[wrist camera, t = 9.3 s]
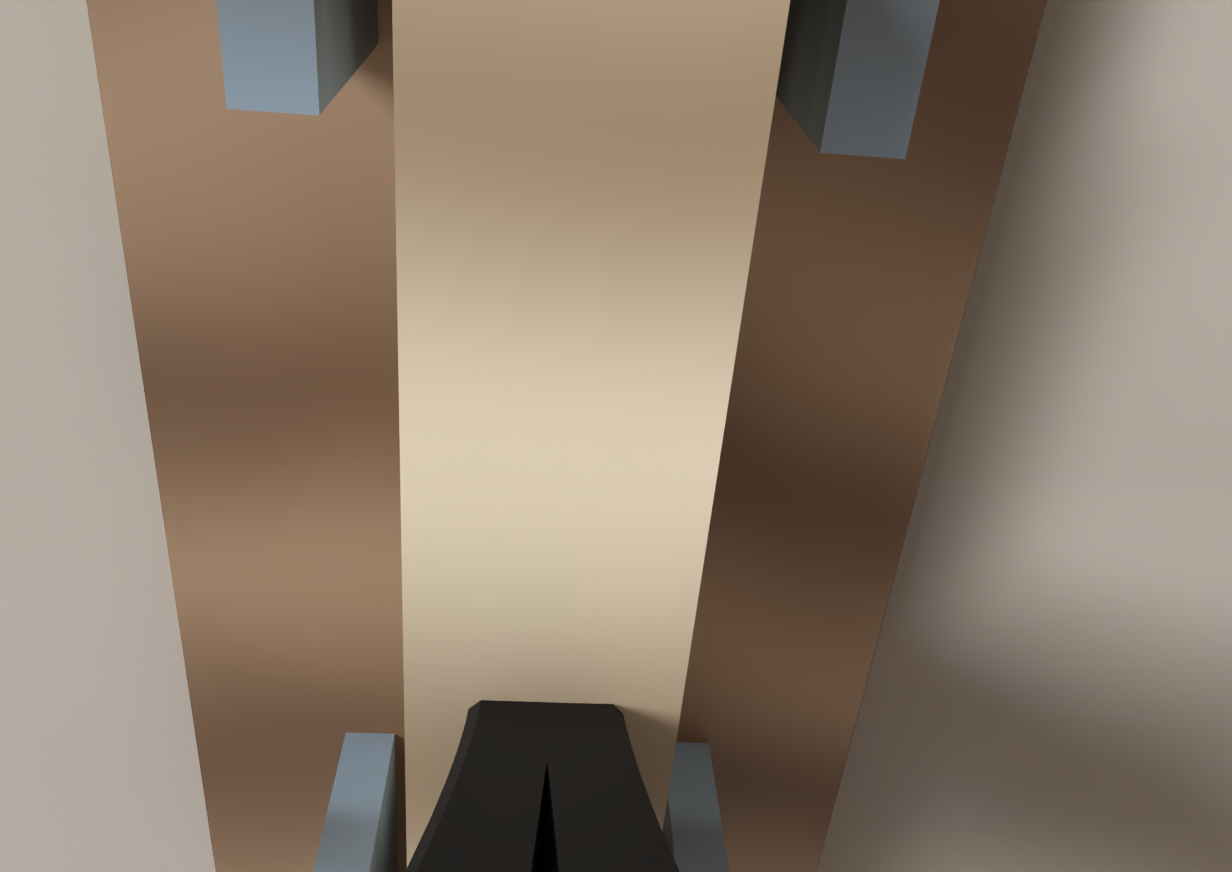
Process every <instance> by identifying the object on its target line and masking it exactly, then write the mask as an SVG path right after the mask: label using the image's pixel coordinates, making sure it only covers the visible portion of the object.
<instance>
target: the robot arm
mask: <svg viewBox="0 0 1232 872" xmlns="http://www.w3.org/2000/svg"><path fill="white" fill-rule="evenodd" d="M405 872H680V871H679V869H678V867H677V864H676V862H675V860H674V858H673V856H672V853H671V851H670V849H669V846H668V844H667V842H666V839H665V837H664V834H663V832H662V830H661V827H660V825H659V822H658V820H657V817H656V814H655V812H654V809H653V807H652V804H651V801H650V799H649V796H648V793H647V791H646V788H645V785H644V783H643V780H642V777H641V774H640V771H639V768H638V765H637V762H636V759H635V756H634V753H633V750H632V746H631V742H630V739H629V735H628V732H627V728H626V724H625V720H624V715H623V713H622V712H621V711H620V710H619V709H618V708H616V707H615V706H614V705H613V704H593V703H556V702H525V701H493V700H480V701H479V702H478V703H476V704H475V705H473V706H472V707H470V708H469V709H468V713H467V718H466V722H465V726H464V730H463V733H462V736H461V740H460V743H459V746H458V749H457V752H456V755H455V758H454V761H453V764H452V766H451V769H450V772H449V774H448V777H447V780H446V782H445V784H444V787H443V789H442V792H441V794H440V797H439V799H438V801H437V804H436V806H435V809H434V811H433V813H432V816H431V818H430V820H429V823H428V825H427V827H426V829H425V831H424V833H423V835H422V837H421V839H420V841H419V844H418V846H417V848H416V850H415V852H414V854H413V856H412V858H411V860H410V863H409V865H408V867H407V869H406V871H405Z"/></svg>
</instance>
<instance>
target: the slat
mask: <svg viewBox="0 0 1232 872" xmlns="http://www.w3.org/2000/svg"><path fill="white" fill-rule="evenodd" d="M789 6H790V0H392V29H393V87H394V145H395V204H396V262H397V320H398V379H399V437H400V495H401V554H402V612H403V671H404V729H405V787H406V846H407V867H408V865H409V863H410V860H411V858H412V856H413V854H414V852H415V850H416V848H417V846H418V844H419V841H420V839H421V837H422V835H423V833H424V831H425V829H426V827H427V825H428V823H429V820H430V818H431V816H432V813H433V811H434V809H435V806H436V804H437V801H438V799H439V797H440V794H441V792H442V789H443V787H444V784H445V782H446V780H447V777H448V774H449V772H450V769H451V766H452V764H453V761H454V758H455V755H456V752H457V749H458V746H459V743H460V740H461V736H462V733H463V730H464V726H465V722H466V718H467V713H468V709H469V708H470V707H472V706H473V705H475V704H476V703H478V702H479V701H480V700H493V701H525V702H556V703H593V704H613V705H614V706H615V707H616V708H618V709H619V710H620V711H621V712H622V713H623V715H624V720H625V724H626V728H627V732H628V735H629V739H630V742H631V746H632V750H633V753H634V756H635V759H636V762H637V765H638V768H639V771H640V774H641V777H642V780H643V783H644V785H645V788H646V791H647V793H648V796H649V799H650V801H651V804H652V807H653V809H654V812H655V814H656V817H657V820H658V822H659V825H660V827H661V830H663V824H664V817H665V811H666V805H667V798H668V792H669V785H670V779H671V772H672V766H673V759H674V753H675V746H676V740H677V733H678V727H679V720H680V714H681V707H682V701H683V694H684V688H685V681H686V675H687V668H688V662H689V655H690V649H691V642H692V636H693V629H694V623H695V616H696V610H697V603H698V597H699V590H700V584H701V577H702V571H703V564H704V558H705V551H706V545H707V538H708V532H709V525H710V519H711V512H712V506H713V499H714V493H715V486H716V480H717V473H718V467H719V460H720V454H721V447H722V441H723V434H724V428H725V421H726V415H727V408H728V402H729V395H730V389H731V382H732V376H733V369H734V363H735V356H736V350H737V344H738V337H739V331H740V324H741V318H742V311H743V305H744V298H745V292H746V285H747V279H748V272H749V266H750V259H751V253H752V246H753V240H754V233H755V227H756V220H757V214H758V207H759V201H760V194H761V188H762V181H763V175H764V168H765V162H766V155H767V149H768V142H769V136H770V129H771V123H772V116H773V110H774V103H775V97H776V90H777V84H778V77H779V71H780V64H781V58H782V51H783V45H784V38H785V32H786V25H787V19H788V12H789Z"/></svg>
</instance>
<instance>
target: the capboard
mask: <svg viewBox="0 0 1232 872" xmlns="http://www.w3.org/2000/svg"><path fill="white" fill-rule="evenodd" d="M86 1H87V7H88V14H89V21H90V28H91V34H92V41H93V48H94V55H95V61H96V68H97V75H98V82H99V88H100V95H101V102H102V108H103V115H104V122H105V129H106V135H107V142H108V149H109V156H110V162H111V169H112V176H113V183H114V189H115V196H116V203H117V209H118V216H119V223H120V230H121V236H122V243H123V250H124V257H125V263H126V270H127V277H128V284H129V290H130V297H131V304H132V311H133V317H134V324H135V331H136V337H137V344H138V351H139V358H140V364H141V371H142V378H143V385H144V391H145V398H146V405H147V412H148V418H149V425H150V432H151V438H152V445H153V452H154V459H155V465H156V472H157V479H158V486H159V492H160V499H161V506H162V513H163V519H164V526H165V533H166V539H167V546H168V553H169V560H170V566H171V573H172V580H173V587H174V593H175V600H176V607H177V614H178V620H179V627H180V634H181V640H182V647H183V654H184V661H185V667H186V674H187V681H188V688H189V694H190V701H191V708H192V715H193V721H194V728H195V735H196V742H197V748H198V755H199V762H200V768H201V775H202V782H203V789H204V795H205V802H206V809H207V816H208V822H209V829H210V836H211V843H212V849H213V856H214V863H215V869H216V872H405V871H406V869H407V846H406V787H405V729H404V671H403V612H402V554H401V495H400V437H399V379H398V320H397V262H396V204H395V145H394V87H393V29H392V0H86ZM1045 4H1046V0H790V6H789V12H788V19H787V25H786V32H785V38H784V45H783V51H782V58H781V64H780V71H779V77H778V84H777V90H776V97H775V103H774V110H773V116H772V123H771V129H770V136H769V142H768V149H767V155H766V162H765V168H764V175H763V181H762V188H761V194H760V201H759V207H758V214H757V220H756V227H755V233H754V240H753V246H752V253H751V259H750V266H749V272H748V279H747V285H746V292H745V298H744V305H743V311H742V318H741V324H740V331H739V337H738V344H737V350H736V356H735V363H734V369H733V376H732V382H731V389H730V395H729V402H728V408H727V415H726V421H725V428H724V434H723V441H722V447H721V454H720V460H719V467H718V473H717V480H716V486H715V493H714V499H713V506H712V512H711V519H710V525H709V532H708V538H707V545H706V551H705V558H704V564H703V571H702V577H701V584H700V590H699V597H698V603H697V610H696V616H695V623H694V629H693V636H692V642H691V649H690V655H689V662H688V668H687V675H686V681H685V688H684V694H683V701H682V707H681V714H680V720H679V727H678V733H677V740H676V746H675V753H674V759H673V766H672V772H671V779H670V785H669V792H668V798H667V805H666V811H665V817H664V824H663V830H662V832H663V834H664V837H665V839H666V842H667V844H668V846H669V849H670V851H671V853H672V856H673V858H674V860H675V862H676V864H677V867H678V869H679V871H680V872H816V871H817V867H818V863H819V860H820V856H821V852H822V848H823V845H824V841H825V837H826V833H827V829H828V826H829V822H830V818H831V814H832V810H833V807H834V803H835V799H836V795H837V792H838V788H839V784H840V780H841V776H842V773H843V769H844V765H845V761H846V757H847V754H848V750H849V746H850V742H851V739H852V735H853V731H854V727H855V723H856V720H857V716H858V712H859V708H860V704H861V701H862V697H863V693H864V689H865V685H866V682H867V678H868V674H869V670H870V667H871V663H872V659H873V655H874V651H875V648H876V644H877V640H878V636H879V632H880V629H881V625H882V621H883V617H884V614H885V610H886V606H887V602H888V598H889V595H890V591H891V587H892V583H893V579H894V576H895V572H896V568H897V564H898V561H899V557H900V553H901V549H902V545H903V542H904V538H905V534H906V530H907V526H908V523H909V519H910V515H911V511H912V508H913V504H914V500H915V496H916V492H917V489H918V485H919V481H920V477H921V473H922V470H923V466H924V462H925V458H926V455H927V451H928V447H929V443H930V439H931V436H932V432H933V428H934V424H935V420H936V417H937V413H938V409H939V405H940V402H941V398H942V394H943V390H944V386H945V383H946V379H947V375H948V371H949V367H950V364H951V360H952V356H953V352H954V349H955V345H956V341H957V337H958V333H959V330H960V326H961V322H962V318H963V314H964V311H965V307H966V303H967V299H968V296H969V292H970V288H971V284H972V280H973V277H974V273H975V269H976V265H977V261H978V258H979V254H980V250H981V246H982V242H983V239H984V235H985V231H986V227H987V224H988V220H989V216H990V212H991V208H992V205H993V201H994V197H995V193H996V189H997V186H998V182H999V178H1000V174H1001V171H1002V167H1003V163H1004V159H1005V155H1006V152H1007V148H1008V144H1009V140H1010V136H1011V133H1012V129H1013V125H1014V121H1015V118H1016V114H1017V110H1018V106H1019V102H1020V99H1021V95H1022V91H1023V87H1024V83H1025V80H1026V76H1027V72H1028V68H1029V65H1030V61H1031V57H1032V53H1033V49H1034V46H1035V42H1036V38H1037V34H1038V30H1039V27H1040V23H1041V19H1042V15H1043V12H1044V8H1045Z"/></svg>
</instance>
